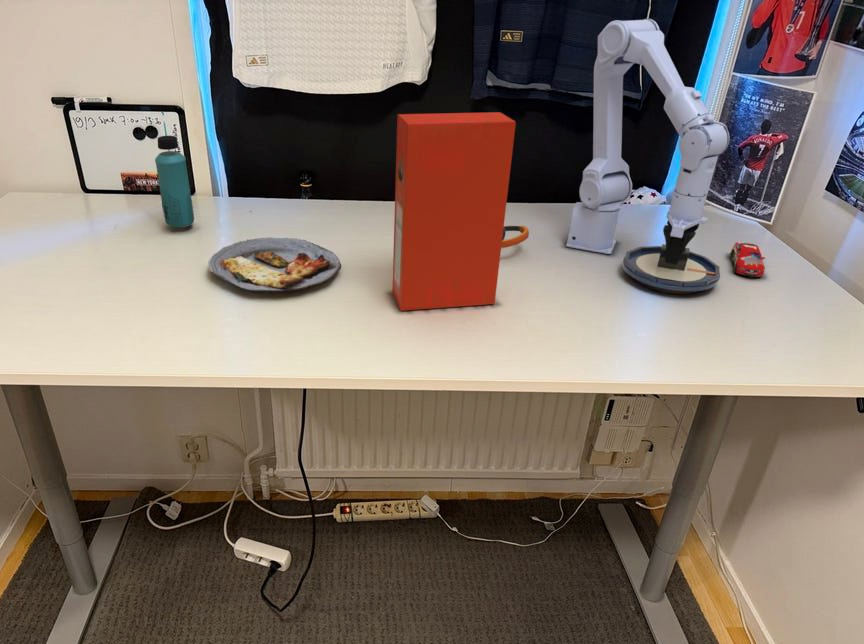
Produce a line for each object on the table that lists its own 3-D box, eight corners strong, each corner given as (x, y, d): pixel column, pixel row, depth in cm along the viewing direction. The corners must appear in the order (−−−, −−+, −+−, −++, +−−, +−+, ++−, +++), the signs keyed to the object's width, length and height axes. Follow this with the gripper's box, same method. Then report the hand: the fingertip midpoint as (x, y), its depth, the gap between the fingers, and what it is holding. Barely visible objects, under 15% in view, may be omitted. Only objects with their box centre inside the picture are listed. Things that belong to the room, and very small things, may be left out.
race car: (763, 281, 134) (770, 263, 132) (733, 277, 136) (739, 258, 134) (756, 256, 145) (762, 239, 143) (728, 252, 146) (734, 235, 144)
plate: (618, 281, 129) (623, 257, 126) (625, 247, 143) (630, 225, 141) (720, 298, 123) (728, 274, 121) (717, 261, 138) (724, 239, 135)
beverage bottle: (202, 227, 152) (190, 135, 141) (179, 236, 147) (166, 142, 137) (181, 221, 155) (168, 131, 144) (158, 229, 150) (143, 137, 140)
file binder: (391, 291, 127) (397, 113, 110) (480, 285, 130) (499, 111, 113) (401, 312, 120) (408, 125, 103) (494, 305, 123) (516, 122, 106)
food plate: (363, 274, 133) (364, 257, 131) (270, 313, 118) (268, 295, 117) (281, 239, 147) (280, 223, 145) (188, 270, 133) (186, 253, 131)
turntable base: (629, 285, 131) (630, 278, 131) (637, 261, 141) (638, 254, 141) (701, 299, 127) (703, 292, 126) (704, 273, 137) (706, 266, 136)
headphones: (456, 213, 155) (540, 211, 144) (459, 236, 158) (542, 235, 147) (420, 236, 143) (508, 236, 132) (424, 260, 146) (511, 262, 135)
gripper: (709, 207, 118) (688, 278, 125) (718, 185, 129) (699, 252, 136) (666, 200, 121) (649, 270, 128) (679, 179, 132) (662, 244, 139)
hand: (672, 260), depth 132 cm, fingers closed on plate, 2 cm apart
